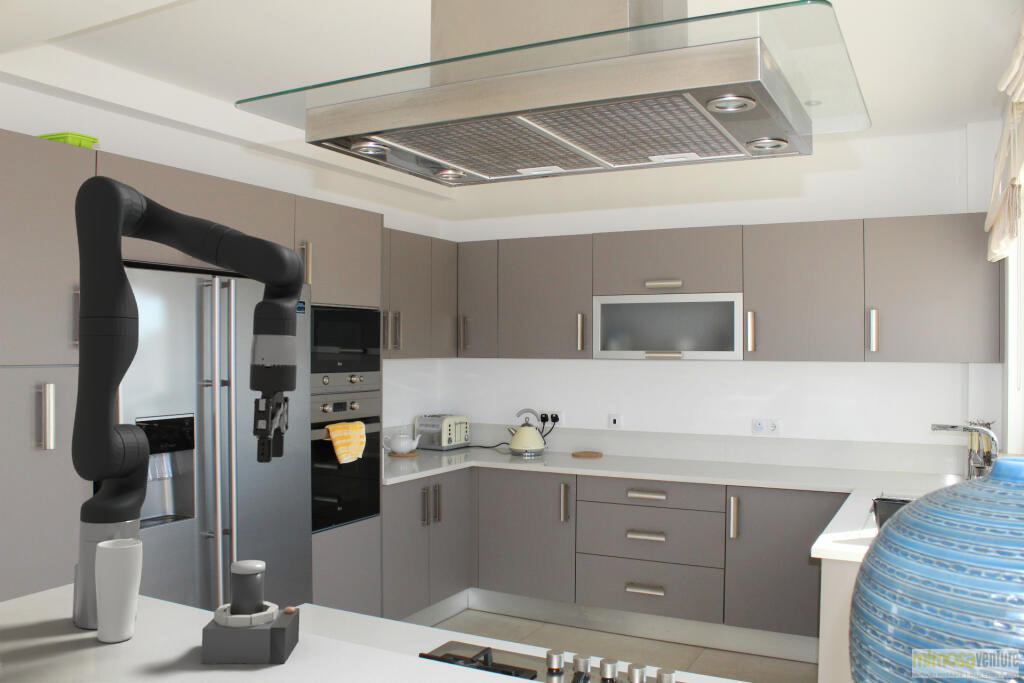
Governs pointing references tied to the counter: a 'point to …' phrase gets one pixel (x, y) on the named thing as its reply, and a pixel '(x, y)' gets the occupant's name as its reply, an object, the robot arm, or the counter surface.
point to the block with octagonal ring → (251, 636)
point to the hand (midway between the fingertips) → (270, 459)
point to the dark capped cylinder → (247, 587)
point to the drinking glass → (117, 588)
